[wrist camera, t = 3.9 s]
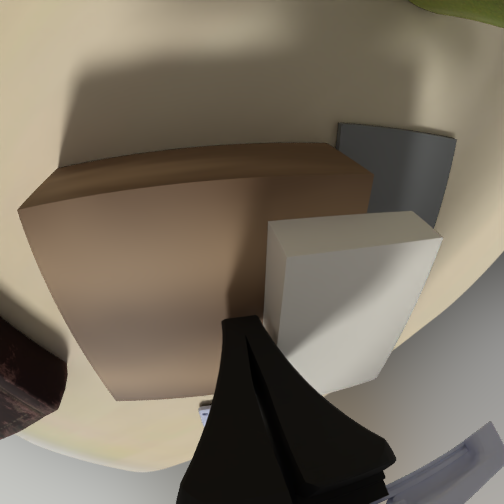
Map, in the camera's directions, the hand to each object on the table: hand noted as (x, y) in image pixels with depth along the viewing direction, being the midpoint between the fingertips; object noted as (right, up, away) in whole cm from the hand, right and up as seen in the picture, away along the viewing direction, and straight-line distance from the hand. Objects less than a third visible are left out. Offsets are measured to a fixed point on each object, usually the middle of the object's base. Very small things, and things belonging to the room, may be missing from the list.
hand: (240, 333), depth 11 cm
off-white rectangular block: (+4, +1, +1) cm, 4 cm away
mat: (+8, +4, +5) cm, 10 cm away
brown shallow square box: (-2, +2, +4) cm, 5 cm away
